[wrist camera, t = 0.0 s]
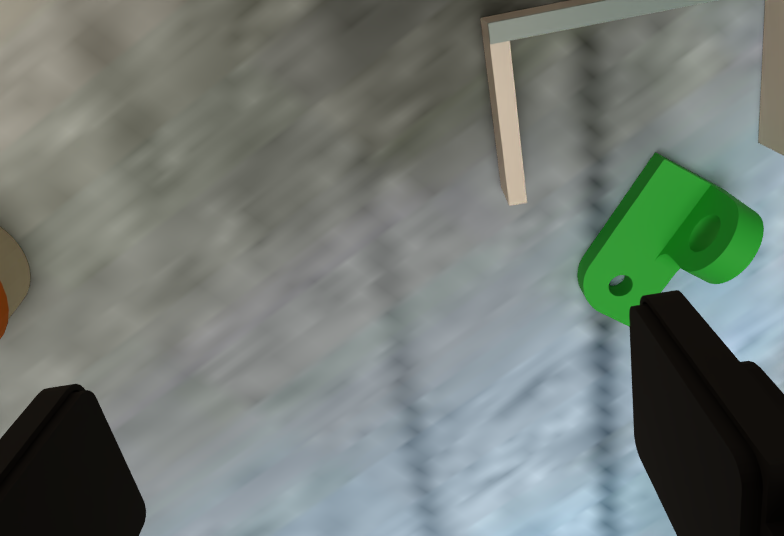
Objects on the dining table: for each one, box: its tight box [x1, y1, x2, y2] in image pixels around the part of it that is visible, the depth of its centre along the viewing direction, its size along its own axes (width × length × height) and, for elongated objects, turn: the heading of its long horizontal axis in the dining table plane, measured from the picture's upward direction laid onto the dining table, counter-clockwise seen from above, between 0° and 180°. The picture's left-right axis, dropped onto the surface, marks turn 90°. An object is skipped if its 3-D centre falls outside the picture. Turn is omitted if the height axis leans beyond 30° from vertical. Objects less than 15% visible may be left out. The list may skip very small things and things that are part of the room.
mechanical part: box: [577, 152, 764, 326], centre depth 46 cm, size 12×6×8 cm, turn 153°
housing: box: [480, 0, 784, 206], centre depth 42 cm, size 12×19×4 cm, turn 101°
